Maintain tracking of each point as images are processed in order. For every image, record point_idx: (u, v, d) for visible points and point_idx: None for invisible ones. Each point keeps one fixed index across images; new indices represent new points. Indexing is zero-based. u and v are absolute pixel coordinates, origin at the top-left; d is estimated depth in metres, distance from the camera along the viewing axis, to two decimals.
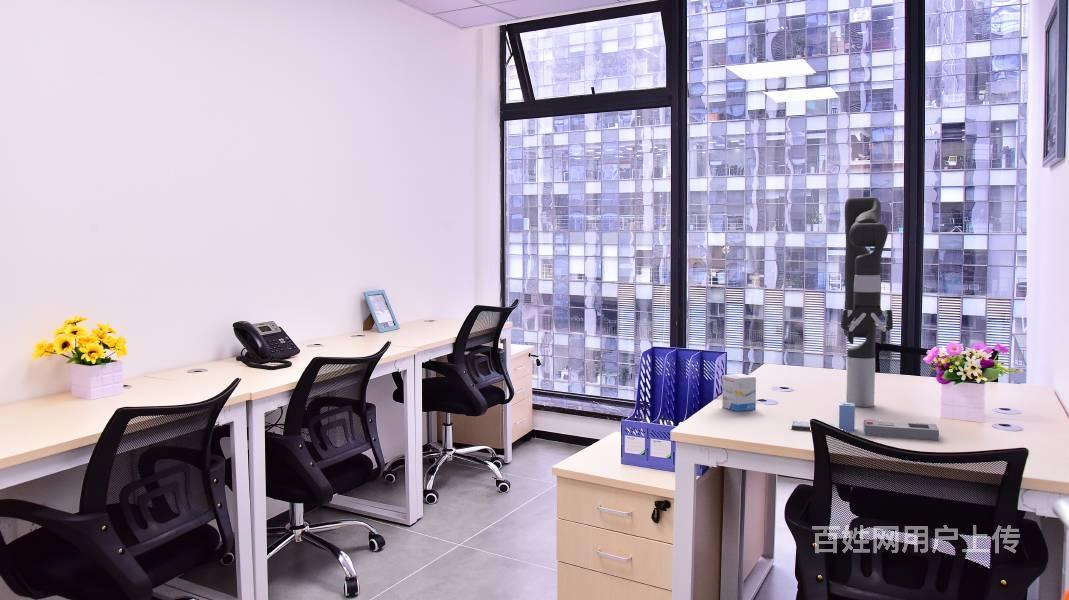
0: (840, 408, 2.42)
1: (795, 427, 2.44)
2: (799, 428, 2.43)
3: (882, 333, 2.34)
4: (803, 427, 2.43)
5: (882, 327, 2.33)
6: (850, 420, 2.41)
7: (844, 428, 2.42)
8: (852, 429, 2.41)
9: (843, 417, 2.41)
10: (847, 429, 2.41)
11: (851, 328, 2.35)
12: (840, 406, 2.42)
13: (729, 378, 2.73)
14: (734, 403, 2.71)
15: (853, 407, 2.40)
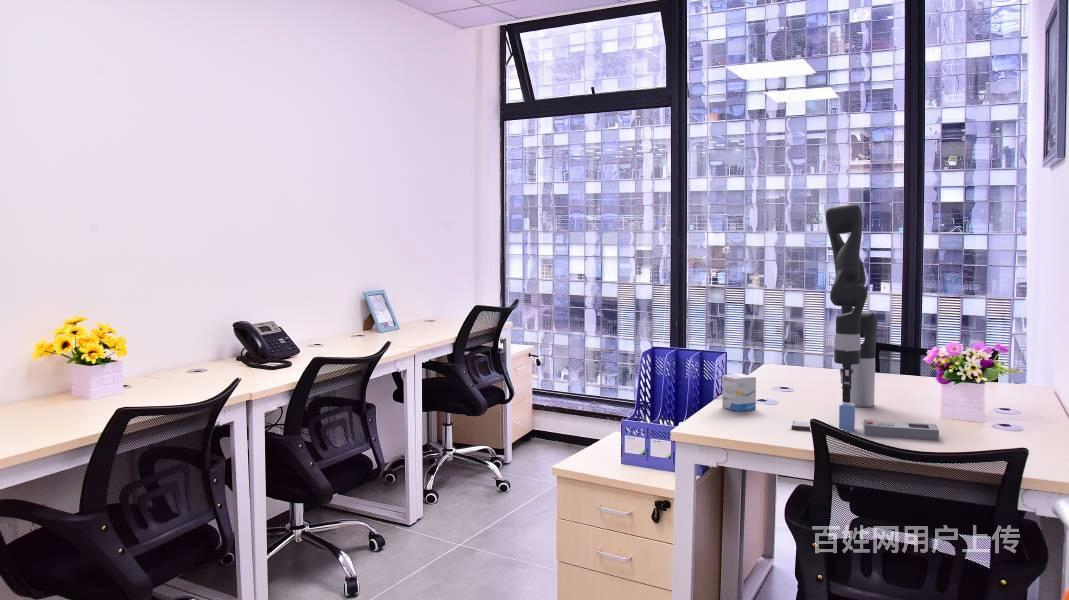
0: (840, 408, 2.42)
1: (795, 427, 2.44)
2: (799, 428, 2.43)
3: None
4: (803, 427, 2.43)
5: None
6: (850, 420, 2.41)
7: (844, 428, 2.42)
8: (852, 429, 2.41)
9: (843, 417, 2.42)
10: (847, 429, 2.41)
11: None
12: (840, 406, 2.42)
13: (729, 378, 2.73)
14: (734, 403, 2.71)
15: (853, 407, 2.40)
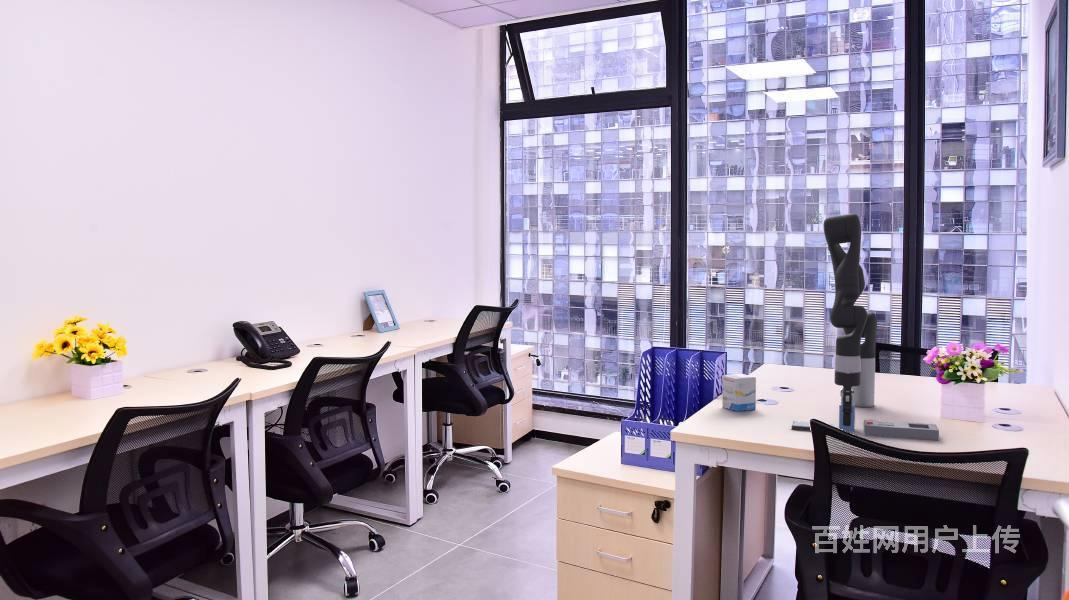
0: (840, 408, 2.42)
1: (795, 427, 2.44)
2: (799, 428, 2.43)
3: None
4: (803, 427, 2.43)
5: None
6: None
7: (844, 428, 2.42)
8: (852, 429, 2.41)
9: None
10: (847, 429, 2.41)
11: None
12: (840, 406, 2.42)
13: (729, 378, 2.73)
14: (734, 403, 2.71)
15: (853, 407, 2.40)
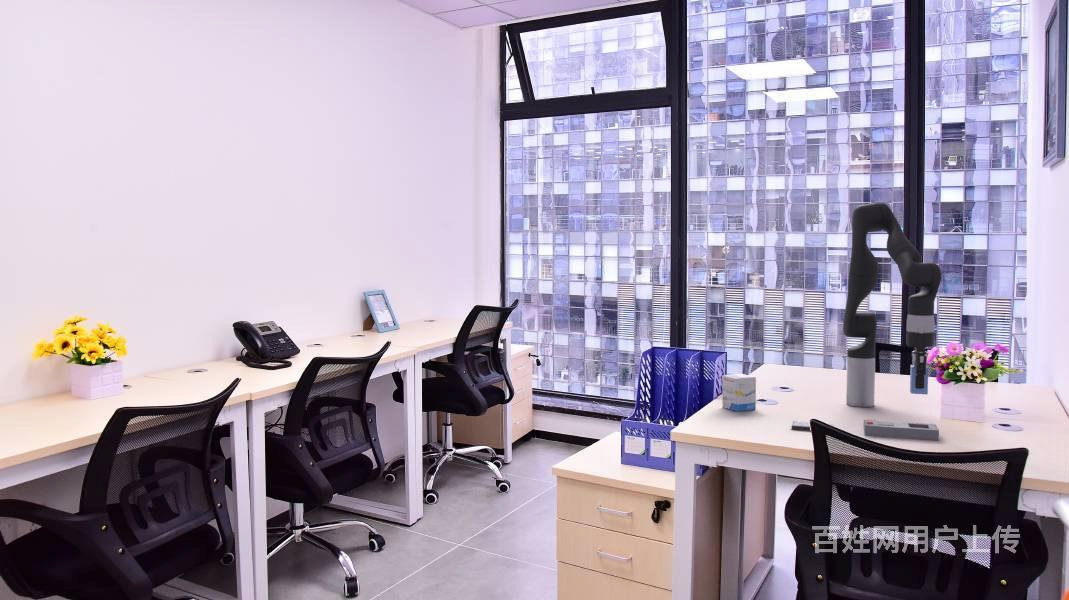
0: (912, 370, 2.32)
1: (795, 427, 2.44)
2: (799, 428, 2.43)
3: None
4: (803, 427, 2.43)
5: None
6: None
7: (916, 391, 2.32)
8: (925, 392, 2.31)
9: (915, 379, 2.32)
10: (920, 392, 2.31)
11: None
12: (912, 368, 2.32)
13: (729, 378, 2.73)
14: (734, 403, 2.71)
15: (926, 369, 2.30)
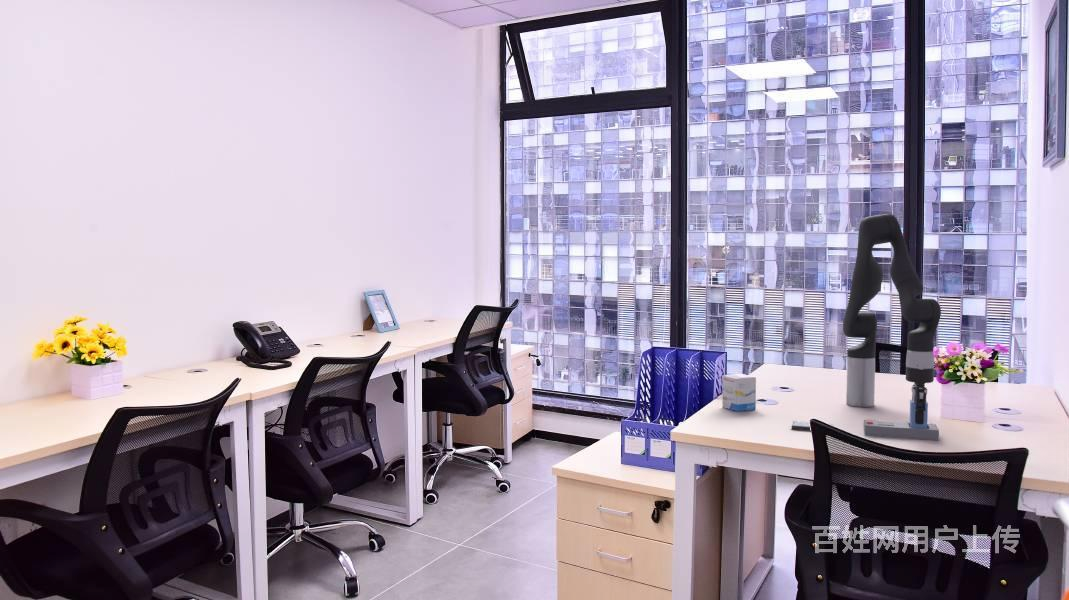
0: (912, 406, 2.32)
1: (795, 427, 2.44)
2: (799, 428, 2.43)
3: None
4: (803, 427, 2.43)
5: None
6: None
7: (916, 427, 2.32)
8: (925, 427, 2.32)
9: None
10: (919, 427, 2.32)
11: None
12: (912, 403, 2.32)
13: (729, 378, 2.73)
14: (734, 403, 2.71)
15: (926, 404, 2.31)
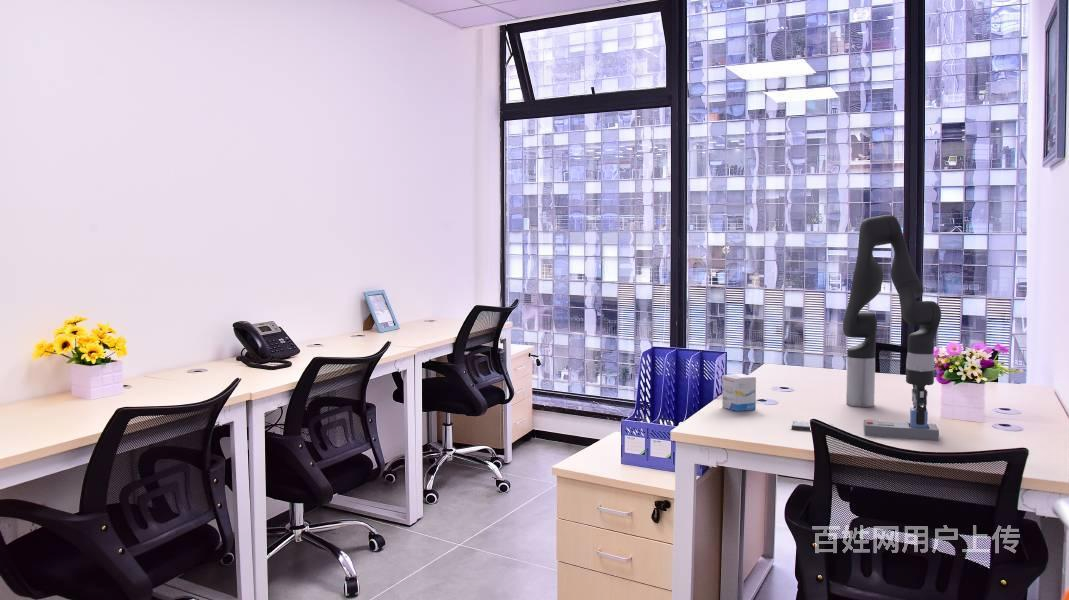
0: (912, 414, 2.33)
1: (795, 427, 2.44)
2: (799, 428, 2.43)
3: None
4: (803, 427, 2.43)
5: None
6: (923, 426, 2.32)
7: None
8: None
9: (914, 423, 2.33)
10: None
11: None
12: (912, 412, 2.33)
13: (729, 378, 2.73)
14: (734, 403, 2.71)
15: (926, 413, 2.31)
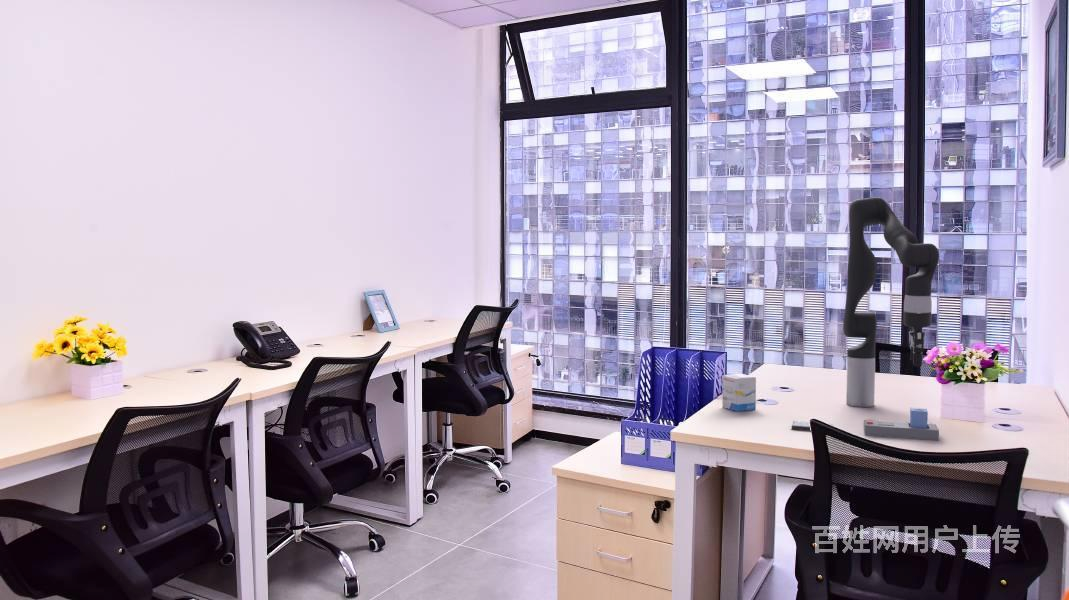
0: (912, 414, 2.33)
1: (795, 427, 2.44)
2: (799, 428, 2.43)
3: None
4: (803, 427, 2.43)
5: None
6: (923, 426, 2.32)
7: None
8: None
9: (915, 423, 2.33)
10: None
11: None
12: (912, 412, 2.33)
13: (729, 378, 2.73)
14: (734, 403, 2.71)
15: (926, 413, 2.31)
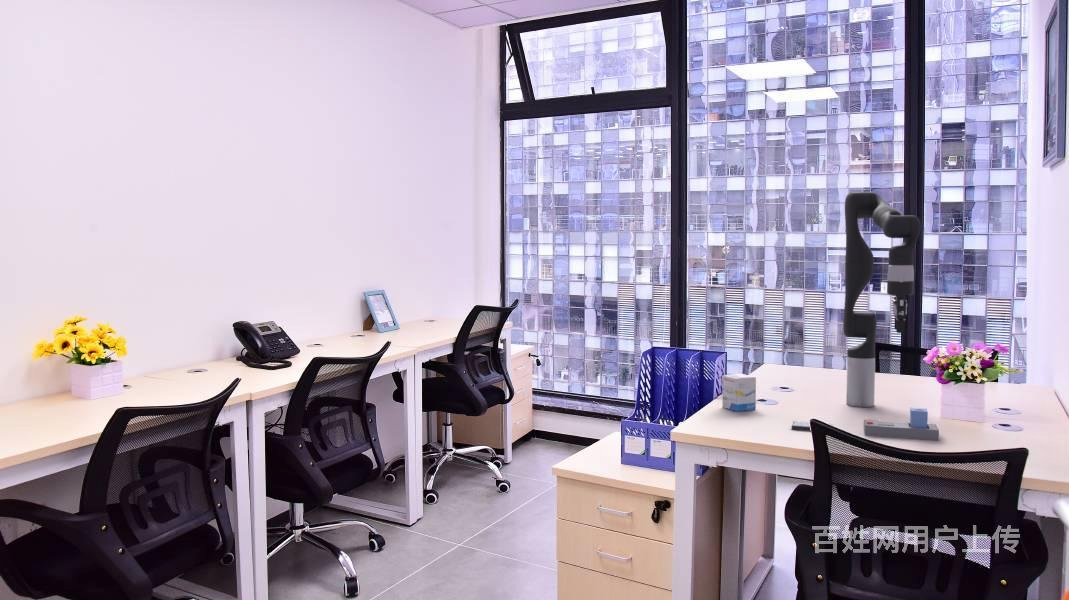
0: (912, 414, 2.33)
1: (795, 427, 2.44)
2: (799, 428, 2.43)
3: None
4: (803, 427, 2.43)
5: None
6: (923, 426, 2.32)
7: None
8: None
9: (914, 423, 2.33)
10: None
11: None
12: (912, 412, 2.33)
13: (729, 378, 2.73)
14: (734, 403, 2.71)
15: (926, 413, 2.31)
